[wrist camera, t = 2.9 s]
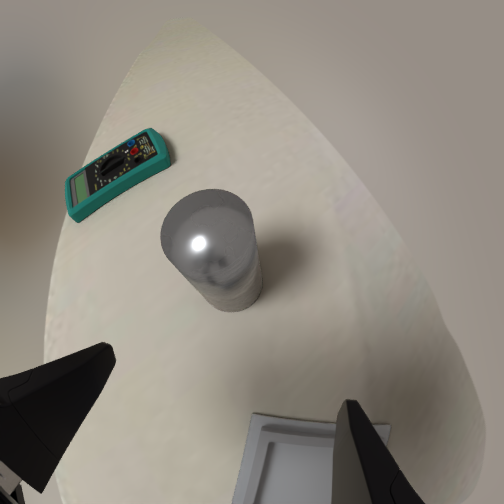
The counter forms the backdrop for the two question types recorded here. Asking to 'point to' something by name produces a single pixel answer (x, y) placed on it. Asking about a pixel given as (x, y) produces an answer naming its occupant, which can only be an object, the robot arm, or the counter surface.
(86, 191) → the digital multimeter
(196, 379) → the counter surface
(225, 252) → the metal cylinder
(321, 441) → the holder
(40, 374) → the robot arm
